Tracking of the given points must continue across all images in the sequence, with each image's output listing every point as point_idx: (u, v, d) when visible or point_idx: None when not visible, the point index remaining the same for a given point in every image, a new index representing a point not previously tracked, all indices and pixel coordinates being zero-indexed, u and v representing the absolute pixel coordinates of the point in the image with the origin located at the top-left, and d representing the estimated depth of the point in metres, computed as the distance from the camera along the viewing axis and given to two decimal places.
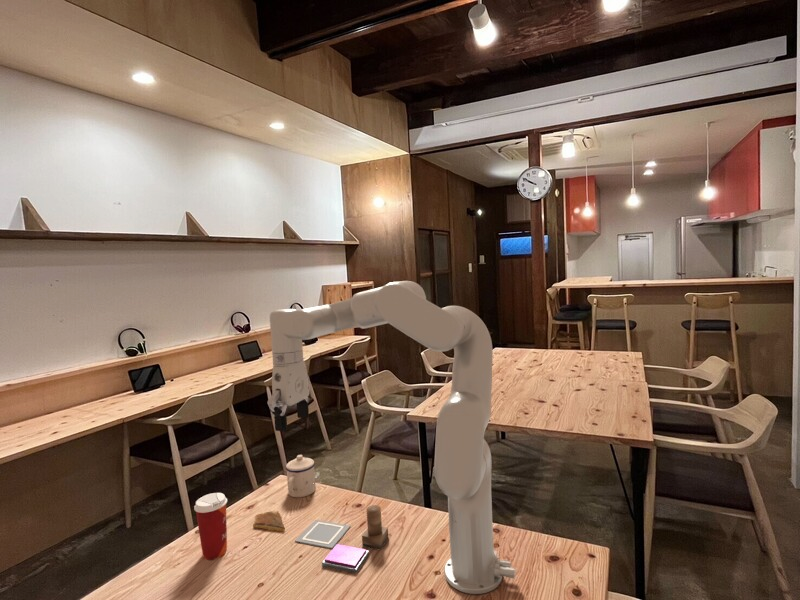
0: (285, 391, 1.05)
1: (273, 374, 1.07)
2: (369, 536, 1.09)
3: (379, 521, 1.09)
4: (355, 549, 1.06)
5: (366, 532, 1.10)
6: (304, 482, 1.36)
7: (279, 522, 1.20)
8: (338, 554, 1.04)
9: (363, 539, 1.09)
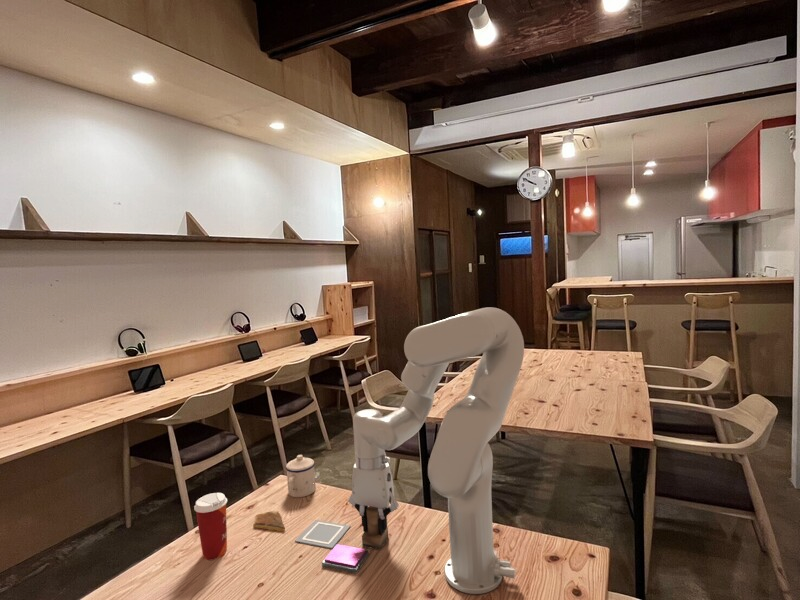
0: (393, 486, 1.10)
1: (385, 477, 1.07)
2: (369, 536, 1.09)
3: None
4: (355, 549, 1.06)
5: (366, 532, 1.10)
6: (304, 482, 1.36)
7: (279, 522, 1.21)
8: (338, 554, 1.04)
9: (363, 539, 1.09)
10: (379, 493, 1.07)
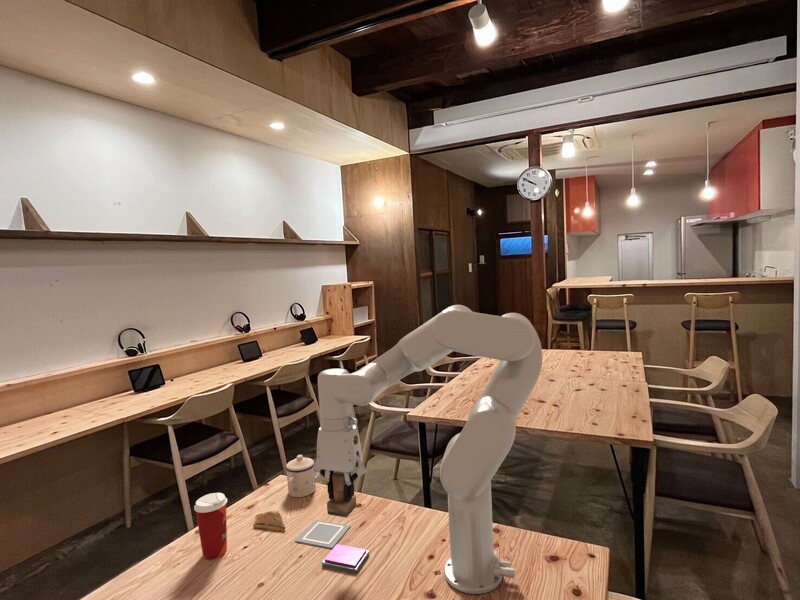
0: None
1: (351, 439, 1.00)
2: (334, 503, 1.01)
3: None
4: (355, 549, 1.06)
5: (332, 499, 1.03)
6: (304, 482, 1.36)
7: (279, 522, 1.21)
8: (338, 554, 1.04)
9: (328, 506, 1.02)
10: (345, 456, 0.99)
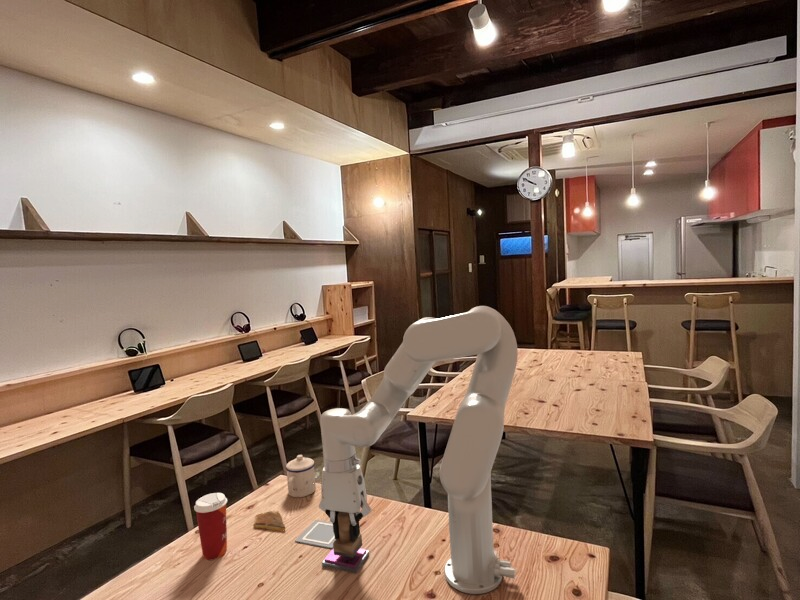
0: (365, 489, 1.03)
1: (355, 480, 1.00)
2: (340, 543, 1.02)
3: None
4: None
5: (338, 539, 1.04)
6: (304, 482, 1.36)
7: (279, 522, 1.21)
8: None
9: (334, 546, 1.02)
10: (349, 497, 1.00)
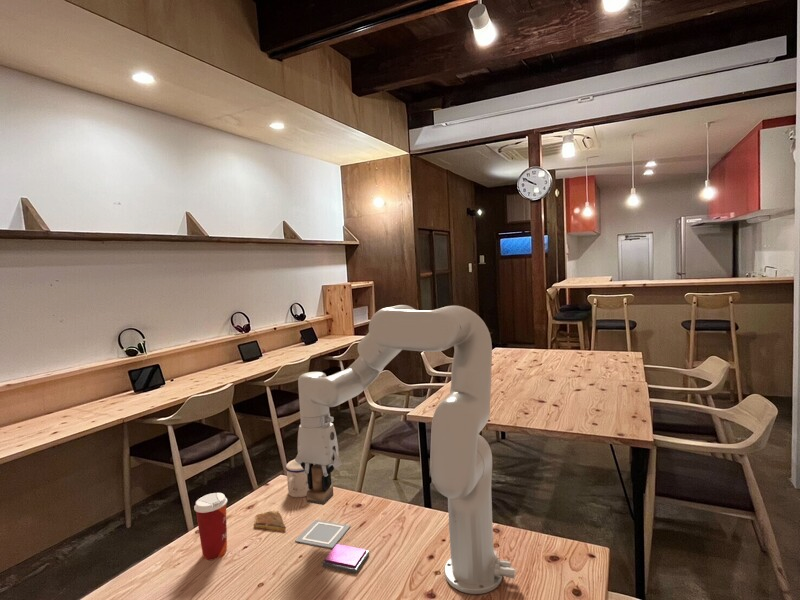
0: (337, 445, 1.14)
1: (328, 435, 1.11)
2: (313, 492, 1.13)
3: None
4: (355, 549, 1.06)
5: (311, 489, 1.15)
6: (304, 482, 1.36)
7: (280, 522, 1.21)
8: (338, 554, 1.04)
9: (307, 495, 1.13)
10: (322, 451, 1.11)
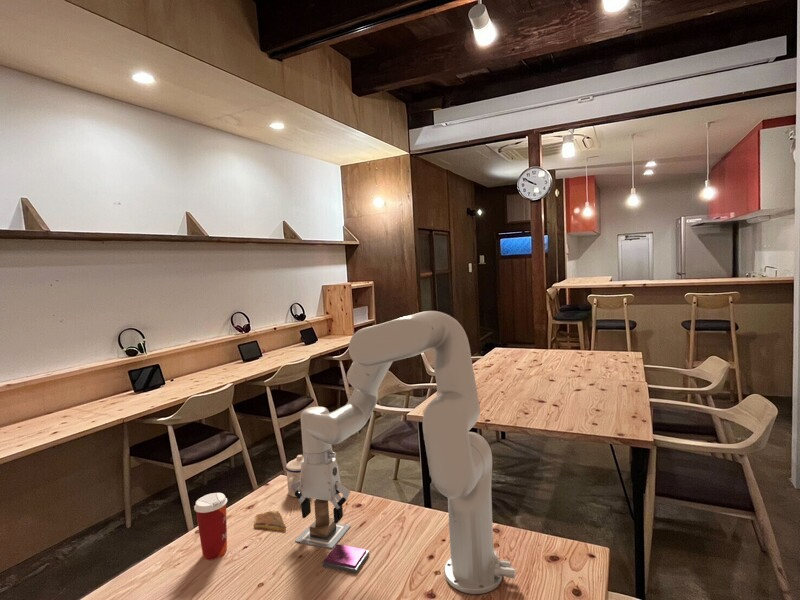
0: (339, 480, 1.15)
1: (330, 471, 1.12)
2: (316, 527, 1.13)
3: (326, 512, 1.14)
4: (355, 549, 1.06)
5: (314, 523, 1.15)
6: None
7: (280, 521, 1.21)
8: (338, 554, 1.04)
9: (310, 530, 1.14)
10: (325, 486, 1.11)
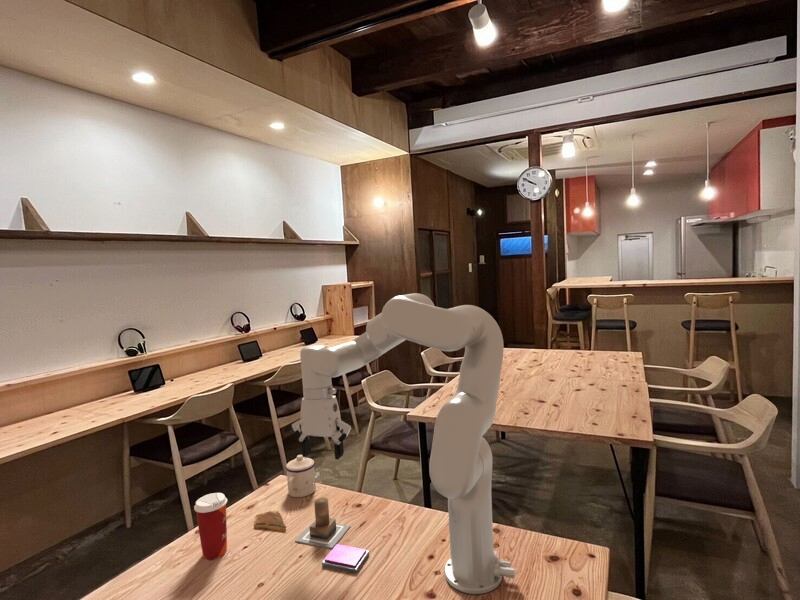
0: (340, 417, 1.15)
1: (331, 406, 1.12)
2: (316, 527, 1.13)
3: (326, 512, 1.14)
4: (355, 549, 1.06)
5: (314, 523, 1.15)
6: (304, 482, 1.36)
7: (280, 521, 1.21)
8: (338, 554, 1.04)
9: (310, 530, 1.14)
10: (325, 422, 1.11)
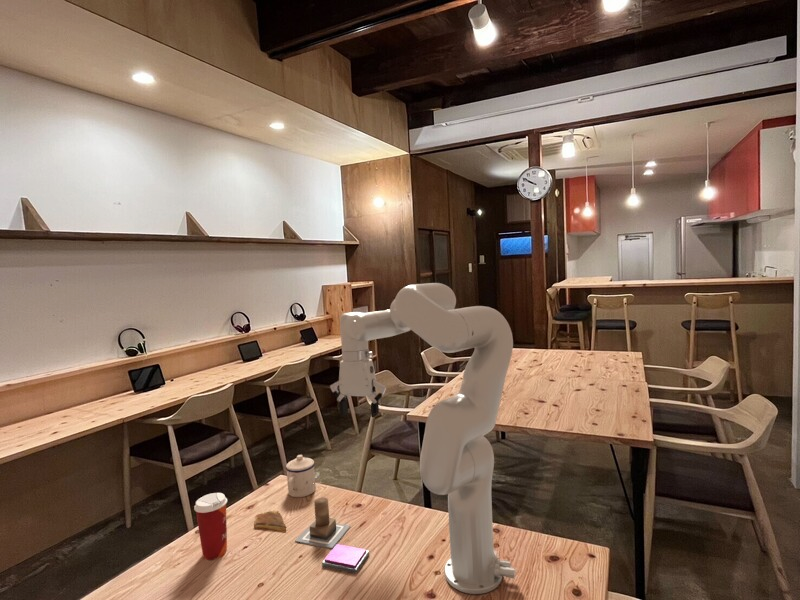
0: (375, 379, 1.24)
1: (368, 368, 1.21)
2: (316, 527, 1.13)
3: (326, 512, 1.14)
4: (355, 549, 1.06)
5: (314, 523, 1.15)
6: (304, 482, 1.36)
7: (280, 521, 1.21)
8: (338, 554, 1.04)
9: (310, 530, 1.14)
10: (363, 382, 1.21)
